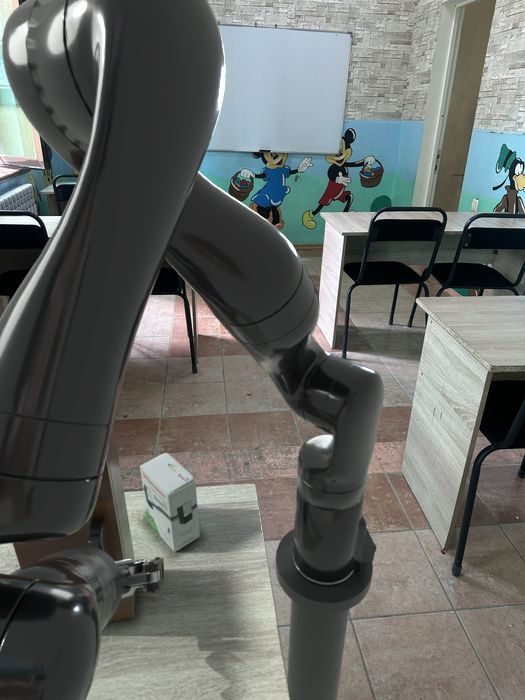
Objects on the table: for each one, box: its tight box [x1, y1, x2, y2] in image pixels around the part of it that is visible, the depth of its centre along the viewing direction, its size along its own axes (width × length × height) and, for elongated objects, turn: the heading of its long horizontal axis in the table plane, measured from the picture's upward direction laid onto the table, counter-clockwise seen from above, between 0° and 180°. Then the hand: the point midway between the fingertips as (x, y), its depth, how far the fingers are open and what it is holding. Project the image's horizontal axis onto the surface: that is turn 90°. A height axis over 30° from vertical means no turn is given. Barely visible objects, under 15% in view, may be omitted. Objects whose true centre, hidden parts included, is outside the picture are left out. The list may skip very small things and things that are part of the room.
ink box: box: [139, 452, 200, 553], centre depth 74 cm, size 9×5×12 cm, turn 42°
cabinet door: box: [12, 456, 135, 623], centre depth 54 cm, size 5×12×32 cm, turn 101°
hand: (102, 575), depth 54 cm, fingers open, 8 cm apart
